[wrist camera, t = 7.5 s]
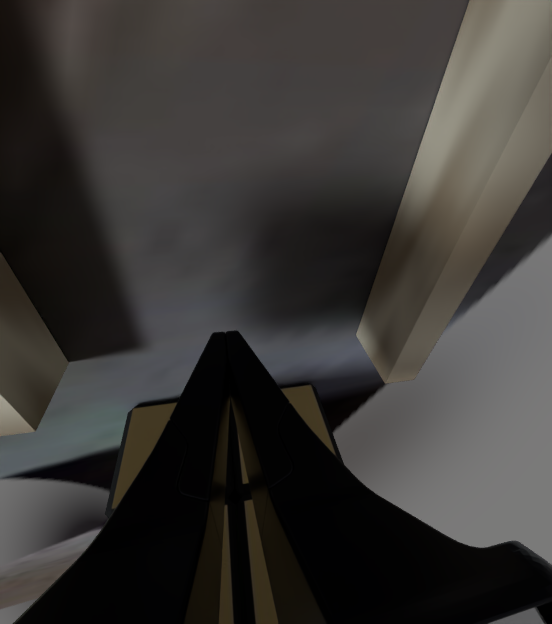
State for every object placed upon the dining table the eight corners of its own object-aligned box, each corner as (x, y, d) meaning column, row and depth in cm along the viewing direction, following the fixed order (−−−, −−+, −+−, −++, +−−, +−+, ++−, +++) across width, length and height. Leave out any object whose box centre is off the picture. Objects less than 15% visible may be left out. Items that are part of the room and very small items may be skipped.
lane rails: (380, 332, 14) (414, 379, 12) (30, 366, 11) (-14, 438, 9) (528, -25, 7) (692, -79, 4) (-407, -211, 4) (-1351, -666, 1)
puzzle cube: (296, 456, 22) (343, 648, 15) (165, 480, 20) (142, 715, 13) (314, 379, 16) (414, 645, 8) (127, 403, 14) (37, 775, 6)
